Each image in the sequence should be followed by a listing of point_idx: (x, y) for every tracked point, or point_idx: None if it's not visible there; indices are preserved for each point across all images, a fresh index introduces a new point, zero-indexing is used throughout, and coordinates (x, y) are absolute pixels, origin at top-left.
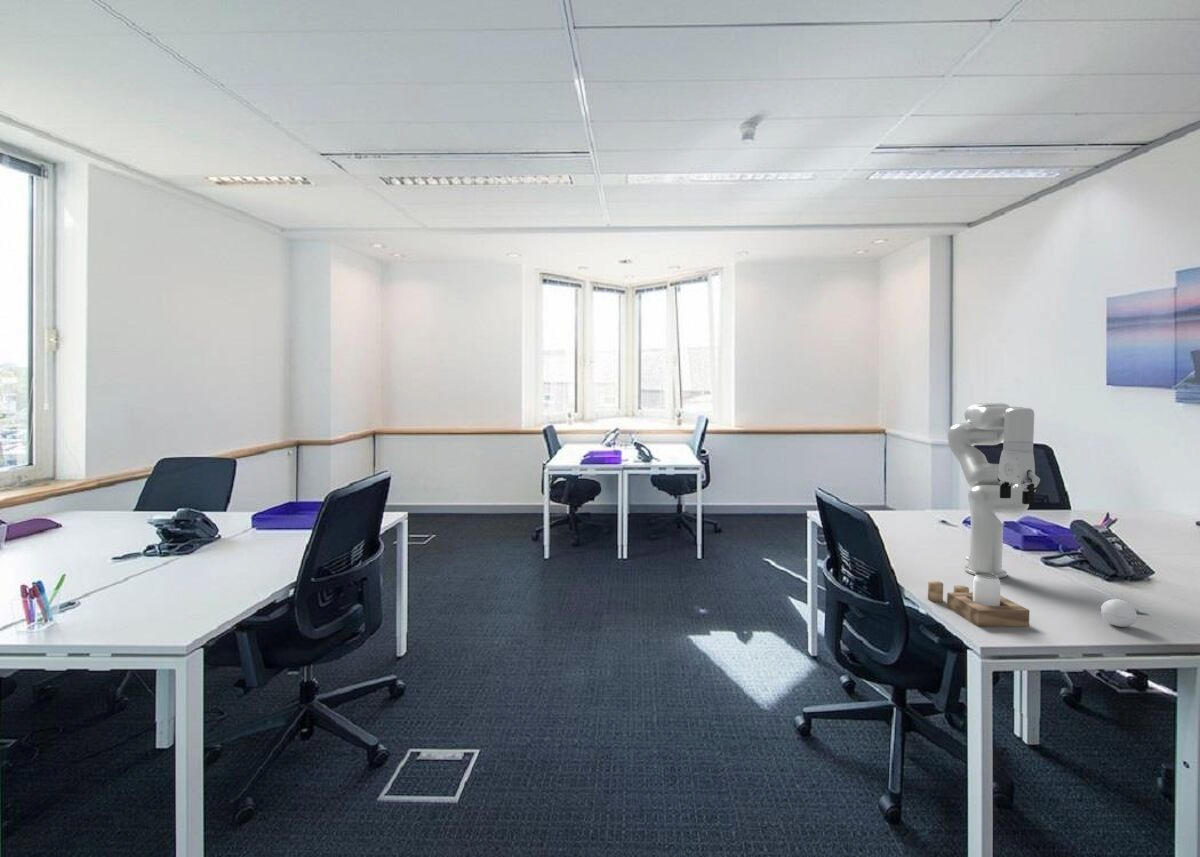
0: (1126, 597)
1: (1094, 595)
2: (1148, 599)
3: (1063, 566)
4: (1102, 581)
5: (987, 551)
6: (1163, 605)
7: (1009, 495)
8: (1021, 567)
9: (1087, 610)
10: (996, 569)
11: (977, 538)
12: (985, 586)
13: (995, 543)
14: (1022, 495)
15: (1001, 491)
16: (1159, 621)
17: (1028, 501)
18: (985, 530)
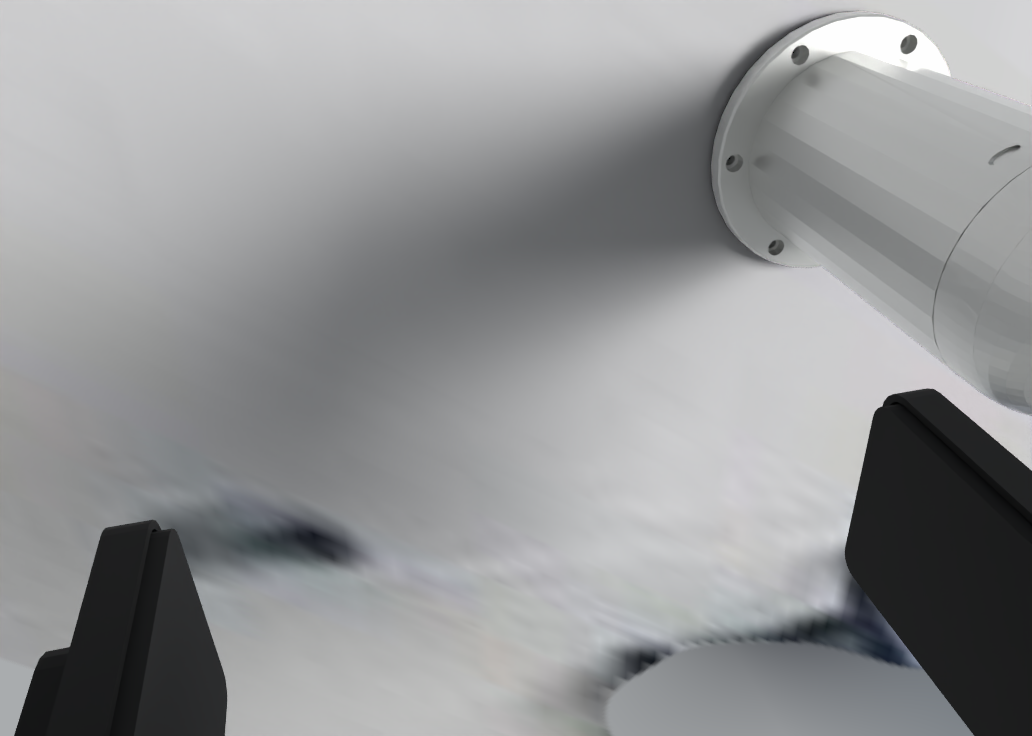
0: (398, 618)
1: (414, 511)
2: (380, 678)
3: (846, 591)
4: (625, 633)
5: (856, 164)
6: (302, 691)
7: (881, 582)
8: (875, 409)
9: (133, 355)
10: (763, 185)
11: (989, 135)
12: None
13: (874, 249)
14: (112, 695)
15: (994, 498)
16: (40, 583)
17: (50, 653)
18: (996, 215)
